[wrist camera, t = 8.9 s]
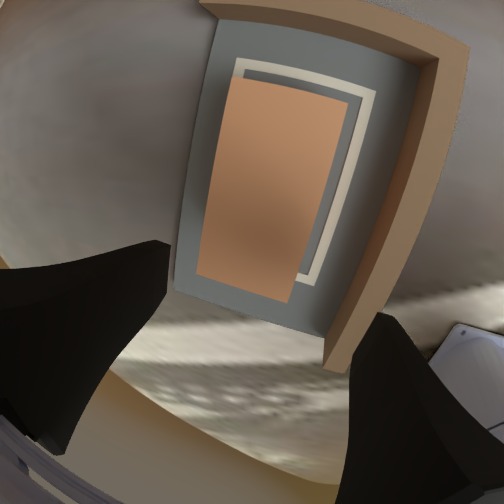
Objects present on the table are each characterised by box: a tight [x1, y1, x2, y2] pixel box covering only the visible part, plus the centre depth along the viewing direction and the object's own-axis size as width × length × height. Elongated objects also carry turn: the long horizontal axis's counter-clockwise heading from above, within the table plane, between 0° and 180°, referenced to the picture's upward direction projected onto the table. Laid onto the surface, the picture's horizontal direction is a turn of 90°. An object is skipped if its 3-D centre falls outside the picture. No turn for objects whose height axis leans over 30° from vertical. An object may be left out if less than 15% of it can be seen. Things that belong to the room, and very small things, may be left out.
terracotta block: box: [196, 77, 348, 303], centre depth 14 cm, size 9×4×5 cm, turn 168°
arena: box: [173, 0, 470, 374], centre depth 15 cm, size 13×20×4 cm, turn 168°
